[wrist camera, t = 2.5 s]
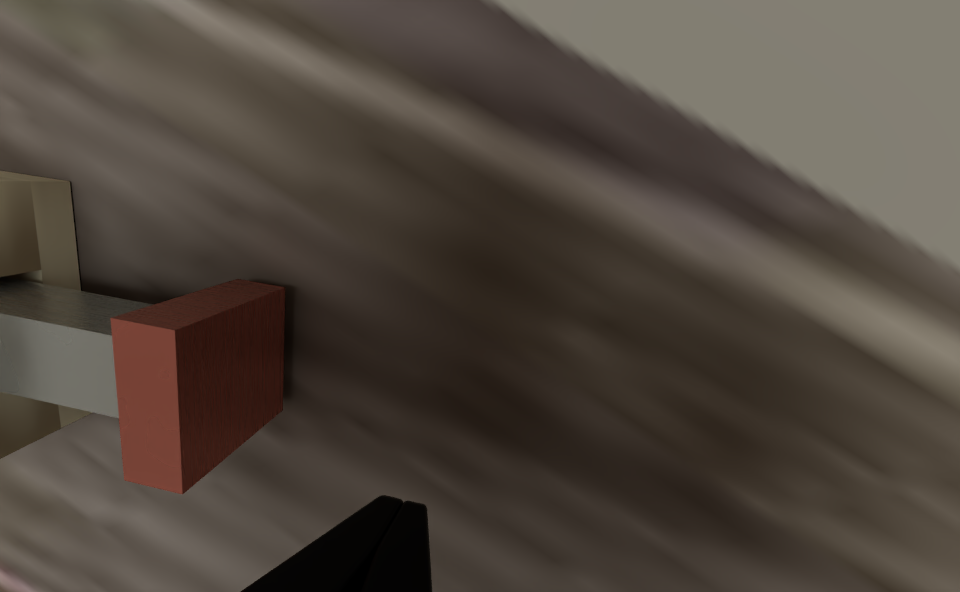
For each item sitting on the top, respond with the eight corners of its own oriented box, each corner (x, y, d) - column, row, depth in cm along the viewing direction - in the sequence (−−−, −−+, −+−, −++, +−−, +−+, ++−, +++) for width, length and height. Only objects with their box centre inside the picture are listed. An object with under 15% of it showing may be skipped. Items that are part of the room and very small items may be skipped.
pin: (282, 410, 14) (182, 494, 10) (-53, 339, 16) (-250, 389, 12) (285, 287, 13) (174, 330, 9) (-75, 223, 15) (-298, 238, 11)
